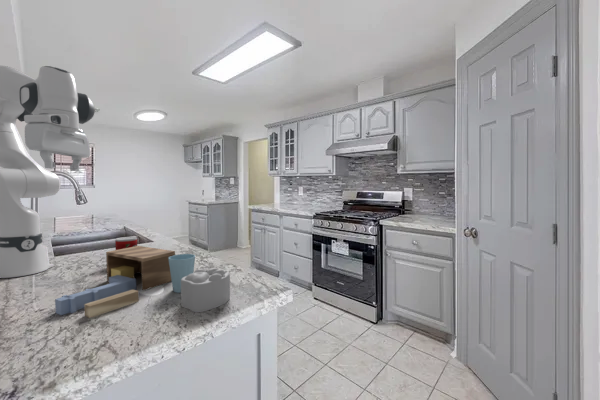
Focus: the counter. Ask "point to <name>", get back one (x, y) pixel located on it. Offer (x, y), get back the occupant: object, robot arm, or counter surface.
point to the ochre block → (123, 271)
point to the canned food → (125, 242)
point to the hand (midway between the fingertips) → (63, 169)
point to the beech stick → (110, 303)
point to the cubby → (143, 264)
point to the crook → (94, 294)
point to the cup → (180, 269)
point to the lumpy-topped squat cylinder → (205, 289)
